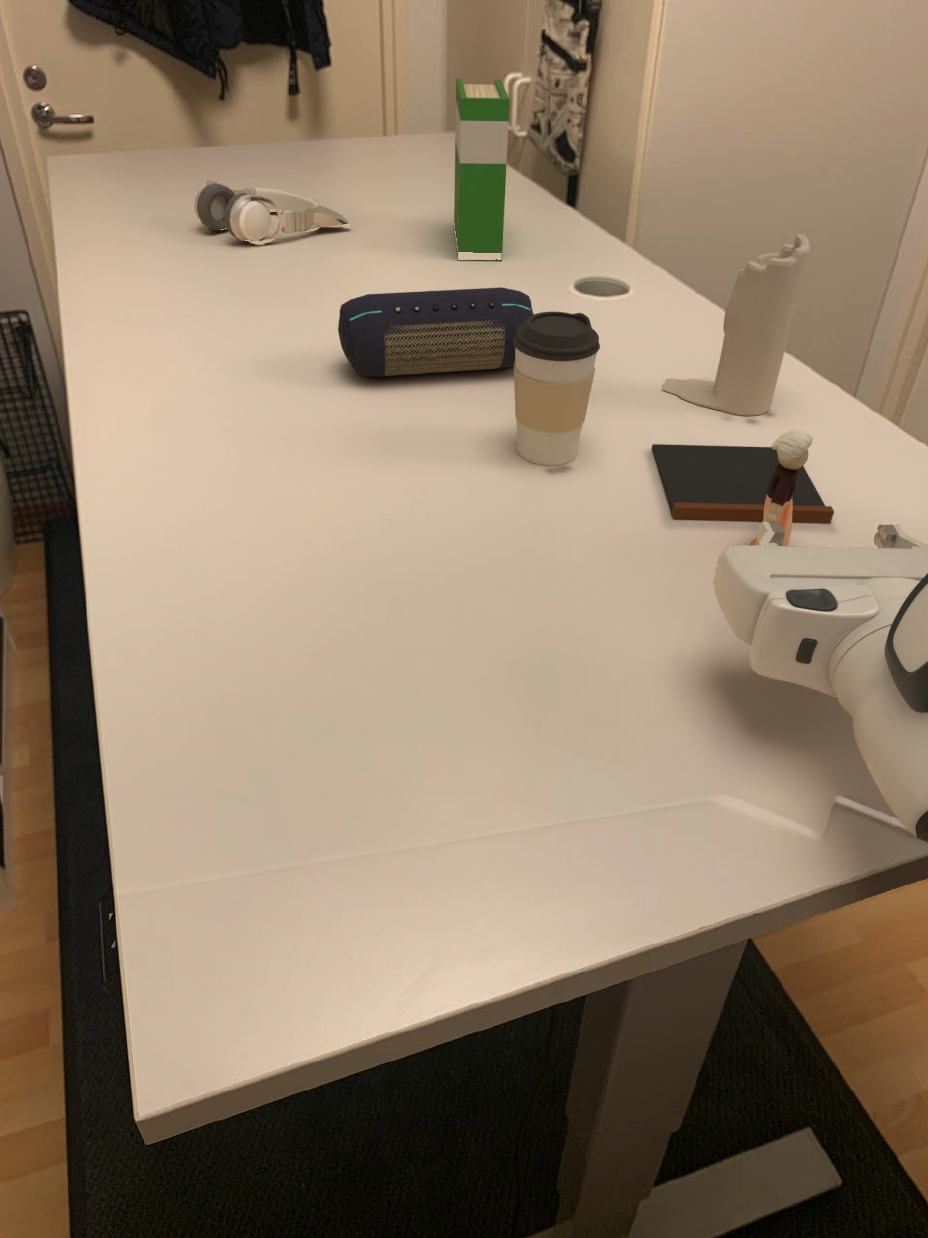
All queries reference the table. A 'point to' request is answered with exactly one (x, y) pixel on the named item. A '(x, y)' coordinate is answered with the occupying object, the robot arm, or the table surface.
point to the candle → (752, 334)
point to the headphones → (259, 211)
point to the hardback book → (480, 166)
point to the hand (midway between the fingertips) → (826, 530)
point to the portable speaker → (432, 331)
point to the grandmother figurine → (785, 480)
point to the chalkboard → (729, 483)
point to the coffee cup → (553, 384)
